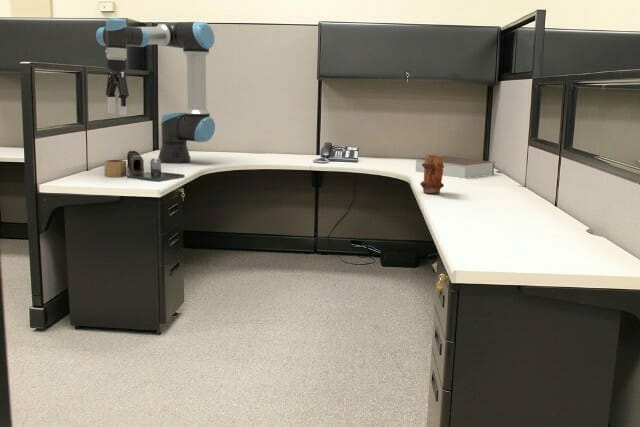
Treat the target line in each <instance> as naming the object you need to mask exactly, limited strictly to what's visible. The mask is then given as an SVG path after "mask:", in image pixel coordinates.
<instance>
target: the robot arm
mask: <svg viewBox="0 0 640 427" xmlns="http://www.w3.org/2000/svg"><path fill="white" fill-rule="evenodd" d="M105 22H106V23H105V26H104V27H99V28H98V29H97V31H96V33H95V37H96V38H95V39H96V41H97V43H98V44H99V45H100V46H104V47H105V48H106V50H105V51H104V52H105V53H106V58H107V59H106V70H110V71H108V72H107V80H106V81H107V83H106V88H105V89H106V90H105V95H106V96H107V114H116V90H117V91H118V116H127V115H128V114H127V113H128V112H127V108H128V107H127V106H128V104H127V101H128V100H127V99H128V97H129V96H130V93H129V88H128V83H127V82H128V81H127V78H126V77H127V75H126V74H127V73H126V72H125V71H126V70H127V63H128V62H127V58H128V56H127V55H128V54H127V50H128V49H127V47H137V48H144V47H146V46H148V45H150V46H151V45H158V46H160V47H170V48H179V49H182V50H183V51H182V52H183V53H184V55H185V56H186V82H187V83H186V85H187V86H186V90H187V92H186V94H187V95H186V96H187V109H186V110H185V111H184V112H173V113H172V112H171V113H165V114H163V115H162V116H161V124H160V125H161V126H160V127H161V147H160V150H159V154H158V157H157V158H159V159H160V160H161V163H165V164H167V163H168V164H183V163H184V164H185V163H191V155H190V153H189V152H190V151H189V149H188V145H187V141H189V142H197V143H206V142H209V141H210V140H211V139H212V137H214V134H215V130H216V123H215V121H214V119H213V118H212V117H211V116H210V111H208V110H207V56H208V55H209V54H210V49H211V48H212V47H213V46H214V43H215V34H214V31H213V29H212V27H211V26H210V25H209V24H208V23H207V22H205V21H179V22H173V23H166V24H165V23H164V24H158V25H156V26H129V25H127V21H126V20H125V19H123V18H113V17H112V18H107V19H106V21H105ZM123 71H124V72H123Z"/></svg>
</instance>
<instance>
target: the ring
mask: <svg viewBox="0 0 640 427" xmlns="http://www.w3.org/2000/svg"><path fill="white" fill-rule="evenodd" d="M103 164H104V165H103V166H104V177H106V178H123V177H127V160H123V159H105V160H104V162H103Z"/></svg>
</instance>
